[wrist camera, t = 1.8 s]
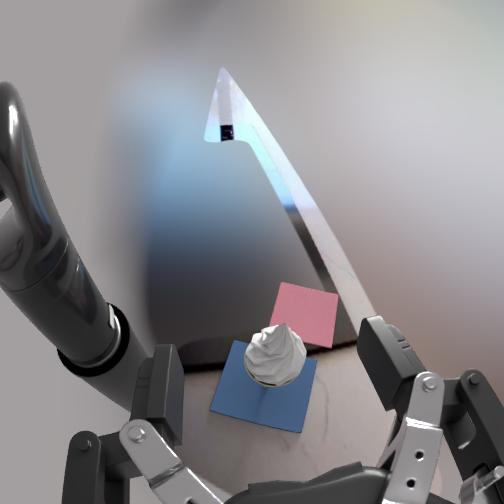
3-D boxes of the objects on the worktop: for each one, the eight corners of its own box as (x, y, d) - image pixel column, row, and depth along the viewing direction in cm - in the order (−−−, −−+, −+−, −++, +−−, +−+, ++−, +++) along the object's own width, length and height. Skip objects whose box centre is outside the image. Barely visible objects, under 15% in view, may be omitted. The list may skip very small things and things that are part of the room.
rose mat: (266, 334, 35) (267, 332, 34) (280, 283, 40) (281, 281, 40) (330, 348, 34) (331, 347, 33) (337, 296, 39) (338, 294, 39)
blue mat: (209, 410, 28) (209, 409, 28) (234, 340, 34) (234, 339, 34) (300, 433, 27) (301, 432, 26) (316, 360, 32) (317, 359, 32)
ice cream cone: (251, 412, 28) (261, 367, 17) (236, 372, 31) (235, 300, 20) (295, 397, 29) (335, 341, 18) (278, 359, 32) (302, 281, 21)
